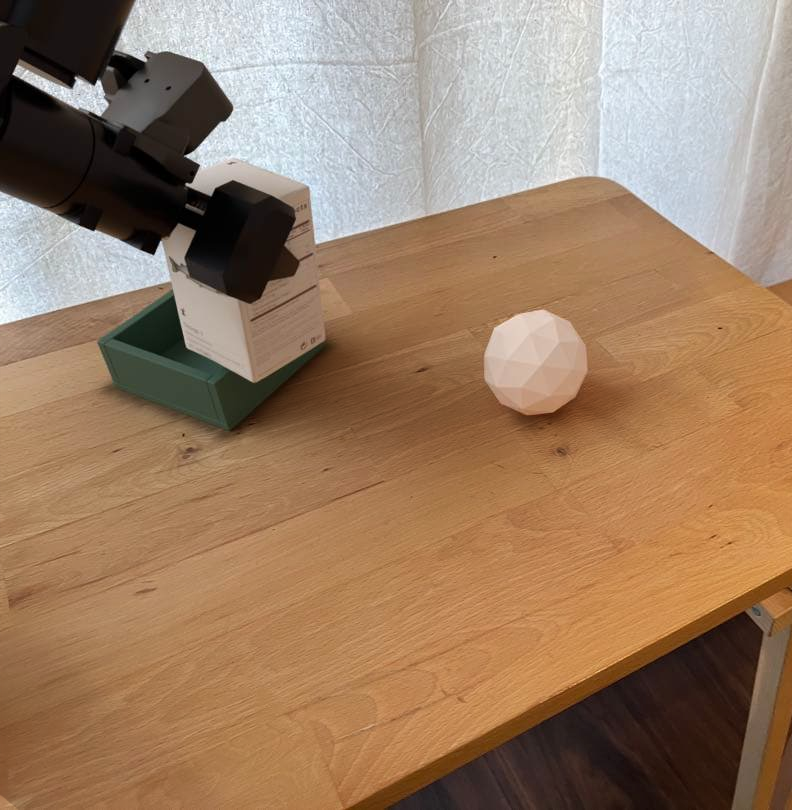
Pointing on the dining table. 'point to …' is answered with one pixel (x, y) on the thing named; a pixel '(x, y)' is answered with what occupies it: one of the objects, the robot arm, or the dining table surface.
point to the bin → (183, 369)
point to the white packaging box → (281, 300)
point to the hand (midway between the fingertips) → (258, 251)
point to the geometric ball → (535, 362)
